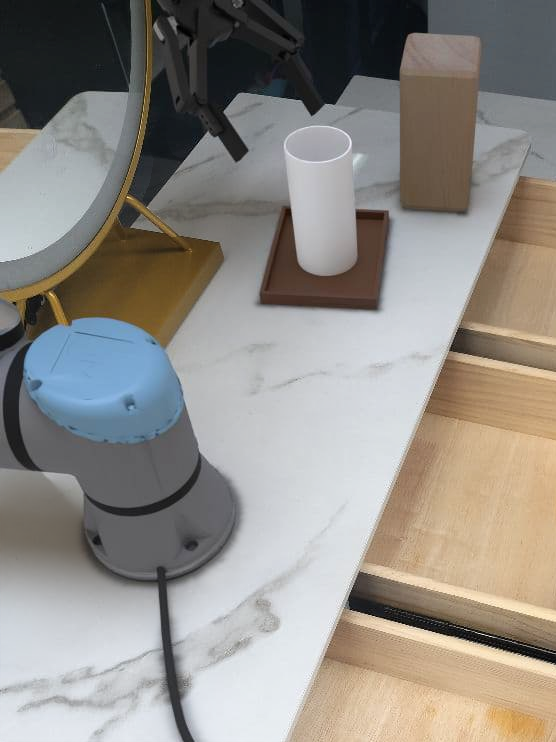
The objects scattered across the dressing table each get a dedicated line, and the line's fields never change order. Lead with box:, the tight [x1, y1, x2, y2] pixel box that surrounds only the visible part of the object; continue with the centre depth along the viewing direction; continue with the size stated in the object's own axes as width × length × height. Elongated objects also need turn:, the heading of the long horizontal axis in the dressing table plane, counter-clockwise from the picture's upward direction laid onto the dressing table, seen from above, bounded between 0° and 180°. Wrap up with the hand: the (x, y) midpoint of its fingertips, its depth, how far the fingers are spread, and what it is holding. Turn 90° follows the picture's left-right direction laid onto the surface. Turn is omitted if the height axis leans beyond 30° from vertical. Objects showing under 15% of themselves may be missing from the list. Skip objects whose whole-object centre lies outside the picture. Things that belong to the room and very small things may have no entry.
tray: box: [259, 205, 390, 310], centre depth 111 cm, size 19×15×2 cm
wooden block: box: [399, 32, 483, 212], centre depth 112 cm, size 10×10×20 cm
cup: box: [283, 125, 358, 276], centre depth 105 cm, size 8×8×16 cm
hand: (281, 133), depth 101 cm, fingers open, 13 cm apart
